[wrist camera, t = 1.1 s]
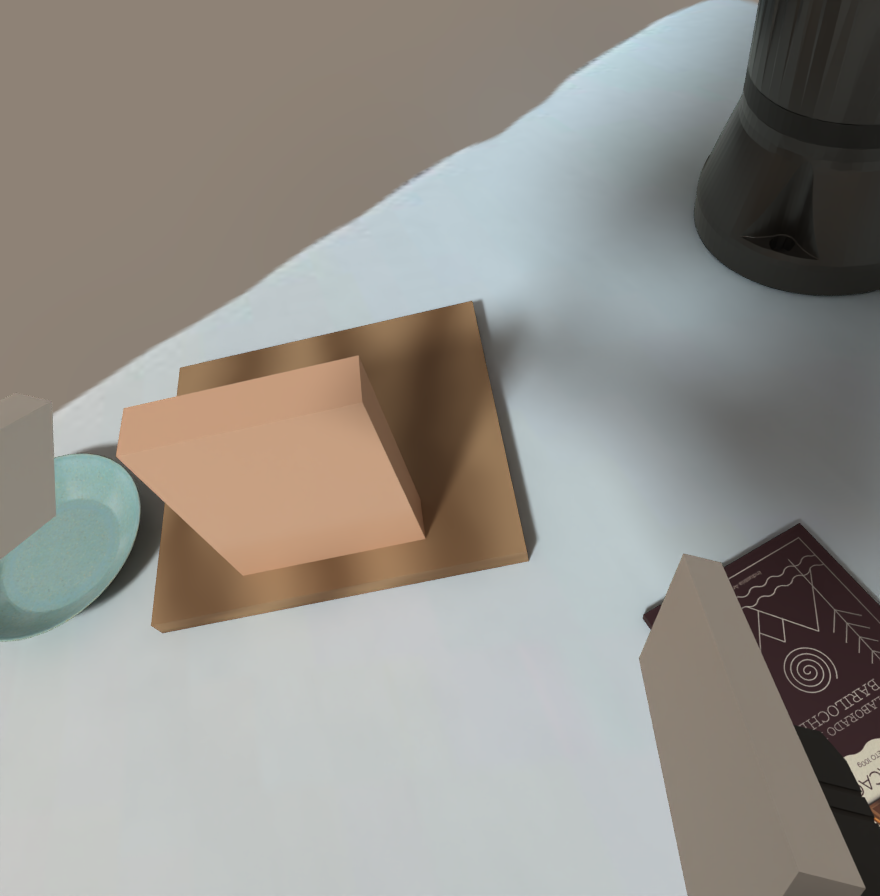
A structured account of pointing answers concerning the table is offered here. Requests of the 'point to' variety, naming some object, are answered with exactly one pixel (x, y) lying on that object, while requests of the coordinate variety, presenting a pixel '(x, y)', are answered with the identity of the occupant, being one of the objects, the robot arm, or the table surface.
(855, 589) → the chocolate bar
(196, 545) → the board
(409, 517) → the tile
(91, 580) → the saucer
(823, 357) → the table surface
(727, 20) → the table surface
